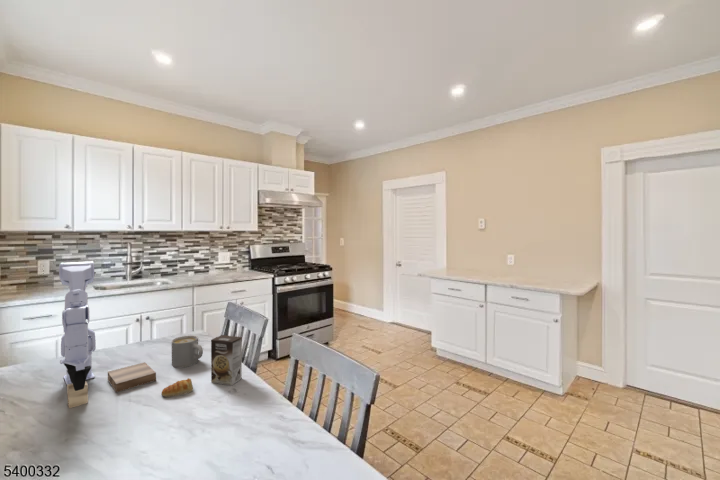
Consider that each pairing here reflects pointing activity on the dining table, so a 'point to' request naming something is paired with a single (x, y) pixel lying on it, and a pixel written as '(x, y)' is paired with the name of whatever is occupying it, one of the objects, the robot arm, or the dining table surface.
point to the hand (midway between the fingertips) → (77, 385)
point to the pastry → (178, 388)
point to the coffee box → (226, 359)
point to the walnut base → (131, 376)
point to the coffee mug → (185, 351)
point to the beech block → (77, 395)
